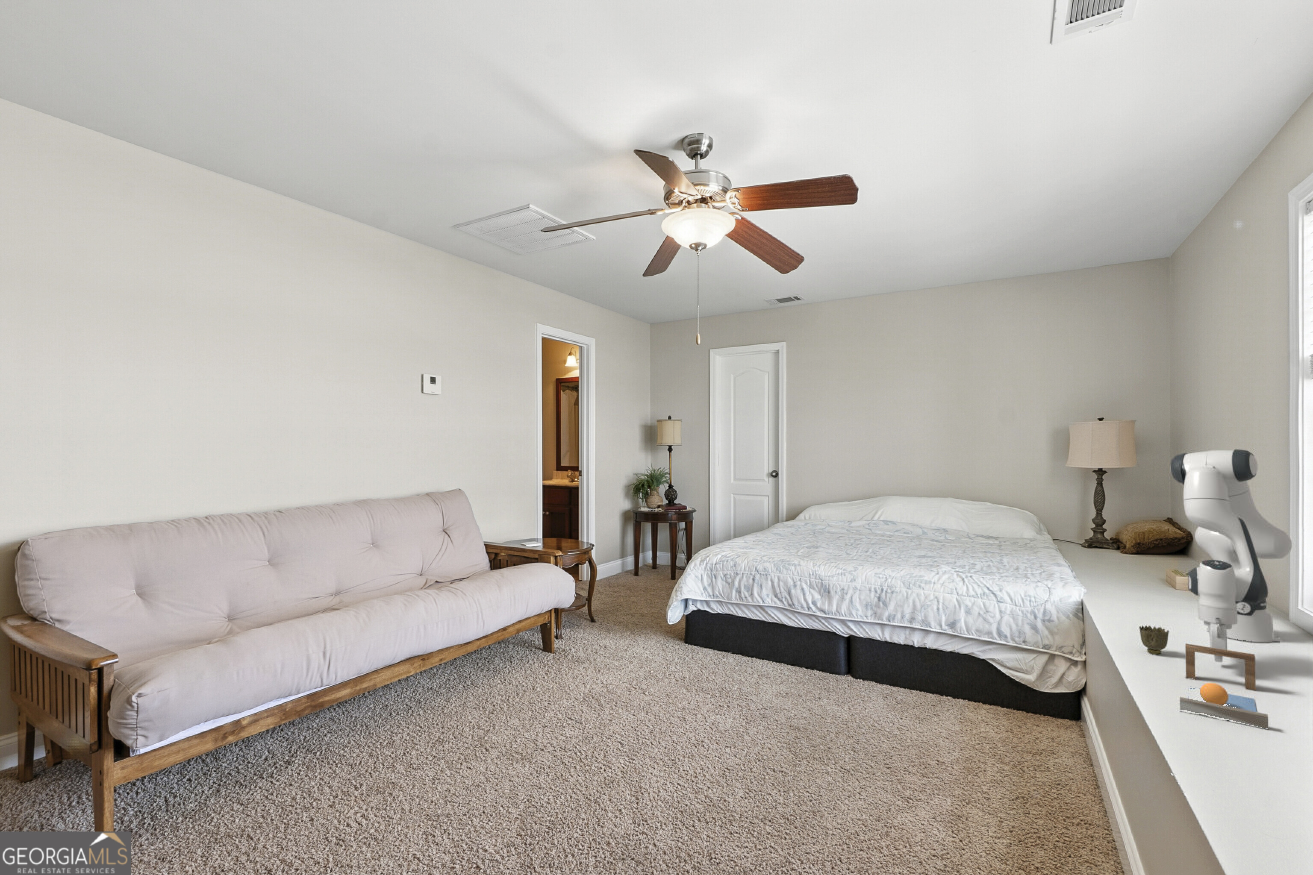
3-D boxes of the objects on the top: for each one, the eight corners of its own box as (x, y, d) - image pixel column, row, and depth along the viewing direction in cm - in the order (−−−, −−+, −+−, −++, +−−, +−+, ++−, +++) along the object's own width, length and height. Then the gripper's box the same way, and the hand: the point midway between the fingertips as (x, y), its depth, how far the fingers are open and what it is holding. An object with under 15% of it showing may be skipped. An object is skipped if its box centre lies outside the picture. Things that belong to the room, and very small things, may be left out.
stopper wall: (1180, 708, 159) (1180, 696, 159) (1267, 726, 149) (1267, 714, 149) (1180, 711, 158) (1179, 699, 158) (1268, 729, 147) (1268, 716, 147)
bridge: (1186, 674, 182) (1185, 643, 182) (1255, 687, 172) (1254, 654, 172) (1186, 677, 179) (1185, 646, 179) (1255, 690, 170) (1255, 657, 170)
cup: (1174, 657, 196) (1174, 632, 196) (1148, 656, 197) (1147, 631, 197) (1160, 650, 203) (1160, 625, 203) (1134, 648, 204) (1134, 624, 205)
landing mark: (1189, 686, 173) (1189, 686, 173) (1253, 699, 164) (1253, 698, 164) (1188, 701, 163) (1188, 701, 163) (1257, 715, 154) (1257, 715, 154)
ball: (1199, 676, 164) (1198, 690, 160) (1227, 680, 160) (1227, 695, 157) (1201, 693, 166) (1200, 707, 162) (1229, 698, 162) (1229, 712, 158)
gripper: (1233, 624, 179) (1234, 672, 178) (1230, 609, 194) (1231, 654, 194) (1203, 620, 183) (1204, 667, 183) (1203, 606, 198) (1204, 649, 198)
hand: (1218, 660), depth 188 cm, fingers closed
